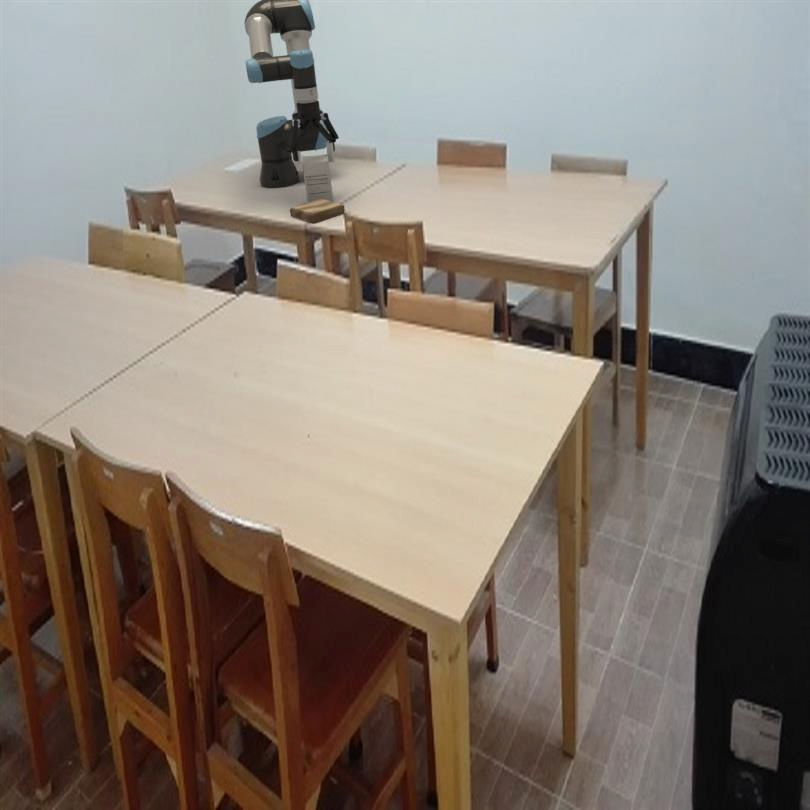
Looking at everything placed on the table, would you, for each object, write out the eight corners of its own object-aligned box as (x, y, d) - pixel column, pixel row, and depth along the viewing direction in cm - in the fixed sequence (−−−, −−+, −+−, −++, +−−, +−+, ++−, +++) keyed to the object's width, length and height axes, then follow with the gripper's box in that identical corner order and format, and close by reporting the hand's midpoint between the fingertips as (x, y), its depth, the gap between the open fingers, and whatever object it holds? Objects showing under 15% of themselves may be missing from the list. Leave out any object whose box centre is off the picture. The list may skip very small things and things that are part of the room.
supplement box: (307, 198, 290) (301, 156, 282) (333, 196, 290) (327, 153, 282) (307, 206, 282) (301, 162, 274) (333, 203, 282) (328, 159, 275)
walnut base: (290, 216, 273) (289, 207, 272) (321, 206, 280) (320, 197, 279) (313, 223, 264) (312, 214, 263) (345, 213, 272) (343, 204, 270)
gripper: (282, 108, 259) (292, 175, 270) (343, 95, 273) (351, 159, 284) (269, 106, 264) (279, 172, 275) (330, 93, 278) (338, 156, 289)
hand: (315, 166), depth 279 cm, fingers open, 13 cm apart
